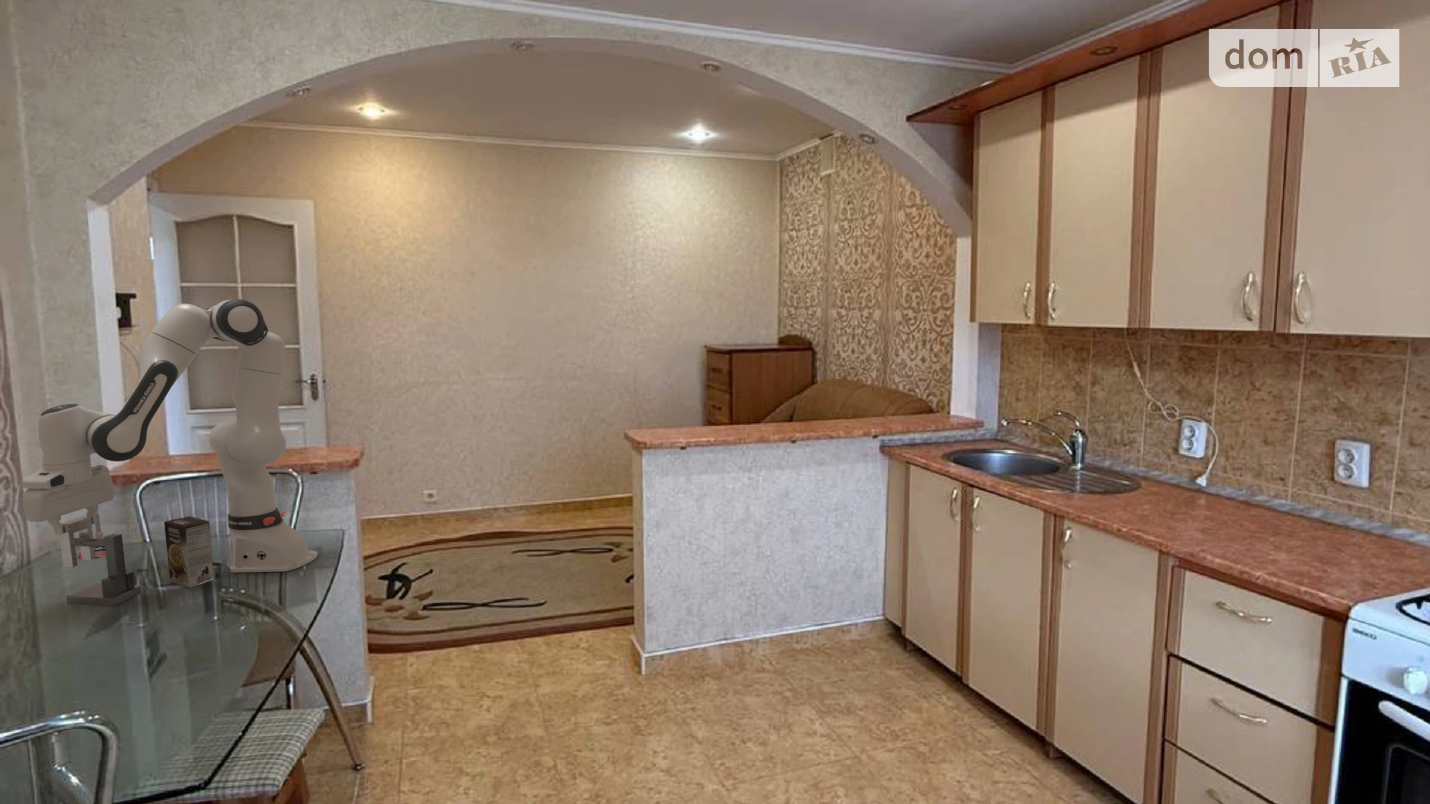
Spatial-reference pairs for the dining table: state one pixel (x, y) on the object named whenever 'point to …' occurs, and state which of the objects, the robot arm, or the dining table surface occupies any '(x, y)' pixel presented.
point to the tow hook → (97, 532)
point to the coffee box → (188, 550)
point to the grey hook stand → (118, 580)
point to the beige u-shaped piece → (69, 544)
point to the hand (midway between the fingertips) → (75, 528)
